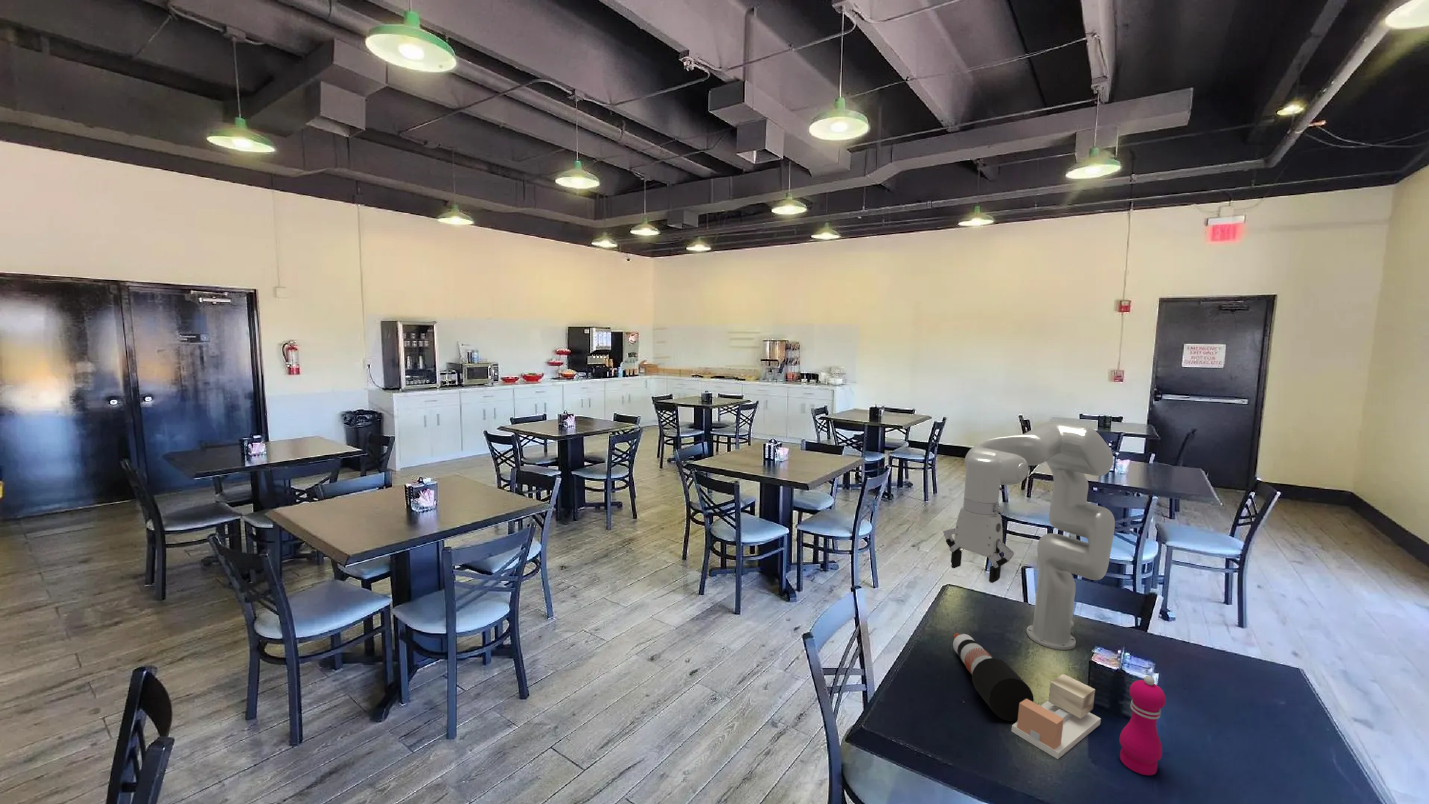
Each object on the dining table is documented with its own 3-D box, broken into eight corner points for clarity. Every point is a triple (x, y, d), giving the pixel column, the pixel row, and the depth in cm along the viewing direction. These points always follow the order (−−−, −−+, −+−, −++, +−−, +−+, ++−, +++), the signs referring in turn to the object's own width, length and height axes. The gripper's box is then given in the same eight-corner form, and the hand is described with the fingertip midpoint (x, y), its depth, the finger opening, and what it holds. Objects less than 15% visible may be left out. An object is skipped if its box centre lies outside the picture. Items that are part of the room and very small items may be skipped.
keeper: (1060, 693, 139) (1063, 673, 139) (1092, 709, 134) (1095, 689, 133) (1048, 701, 136) (1050, 682, 135) (1080, 718, 130) (1083, 698, 130)
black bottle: (963, 659, 166) (980, 630, 166) (1019, 729, 133) (1041, 692, 132) (932, 642, 166) (950, 613, 166) (981, 707, 133) (1003, 670, 132)
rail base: (1055, 700, 142) (1058, 672, 141) (1100, 724, 133) (1103, 694, 132) (1011, 731, 130) (1014, 700, 129) (1057, 759, 122) (1061, 727, 121)
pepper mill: (1108, 752, 125) (1119, 666, 122) (1139, 751, 125) (1151, 665, 123) (1135, 778, 117) (1147, 688, 115) (1168, 777, 118) (1181, 687, 115)
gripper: (1024, 513, 134) (1017, 583, 136) (955, 494, 147) (950, 558, 150) (1008, 519, 129) (1001, 591, 131) (938, 499, 143) (933, 565, 145)
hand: (974, 573), depth 141 cm, fingers open, 9 cm apart
